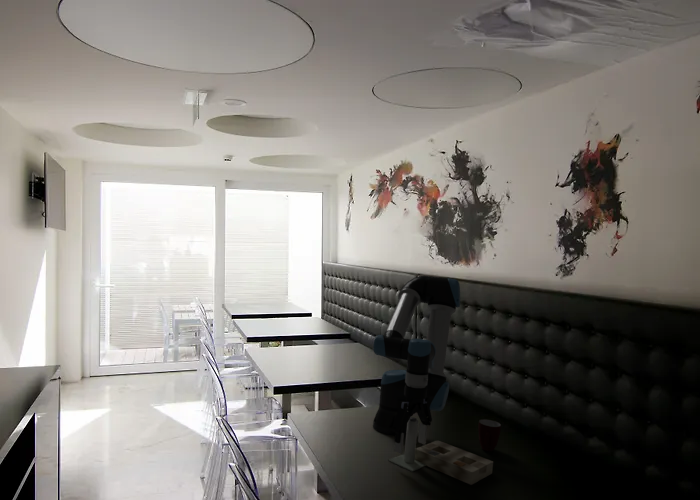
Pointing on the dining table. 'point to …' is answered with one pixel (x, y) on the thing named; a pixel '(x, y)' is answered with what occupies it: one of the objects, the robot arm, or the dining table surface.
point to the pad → (411, 467)
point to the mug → (488, 434)
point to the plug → (411, 440)
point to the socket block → (454, 461)
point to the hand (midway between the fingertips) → (410, 447)
